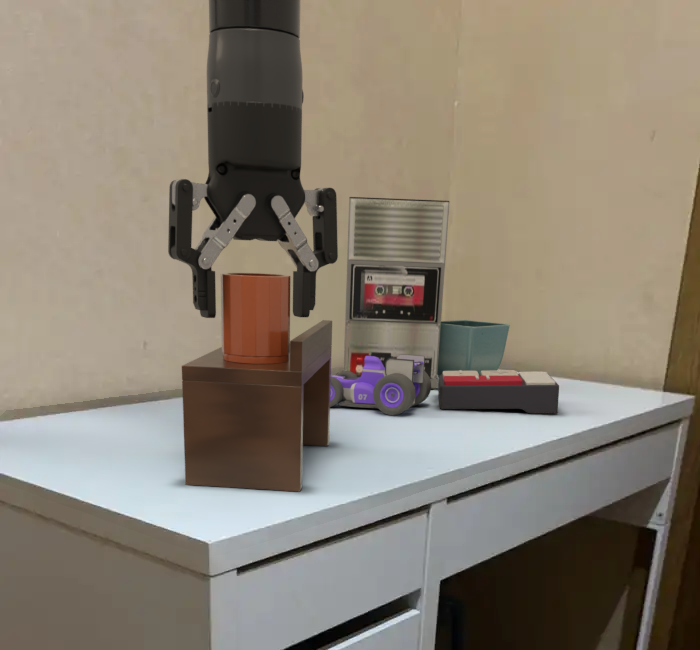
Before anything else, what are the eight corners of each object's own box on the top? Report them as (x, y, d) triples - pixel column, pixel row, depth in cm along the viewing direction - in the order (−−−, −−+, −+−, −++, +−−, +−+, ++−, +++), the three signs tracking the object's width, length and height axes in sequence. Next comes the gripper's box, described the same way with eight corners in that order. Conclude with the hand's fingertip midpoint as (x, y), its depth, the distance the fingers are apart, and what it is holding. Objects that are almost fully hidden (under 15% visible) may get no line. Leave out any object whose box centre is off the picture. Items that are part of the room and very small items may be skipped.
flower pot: (422, 383, 141) (426, 320, 137) (461, 379, 146) (466, 319, 143) (466, 391, 135) (471, 326, 131) (505, 386, 140) (511, 324, 137)
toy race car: (324, 395, 127) (325, 345, 124) (430, 405, 122) (433, 354, 120) (296, 405, 119) (296, 352, 116) (409, 417, 114) (412, 362, 112)
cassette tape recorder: (342, 386, 135) (348, 196, 125) (342, 380, 141) (348, 198, 131) (437, 390, 135) (451, 200, 126) (433, 383, 141) (446, 202, 131)
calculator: (438, 368, 129) (549, 367, 128) (438, 400, 130) (547, 399, 129) (440, 380, 119) (560, 379, 118) (439, 414, 120) (558, 413, 119)
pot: (215, 362, 79) (213, 274, 77) (230, 354, 85) (229, 272, 82) (282, 365, 79) (283, 277, 76) (293, 357, 84) (294, 274, 82)
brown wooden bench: (185, 484, 81) (180, 335, 76) (235, 438, 99) (234, 315, 94) (300, 491, 80) (302, 341, 75) (329, 443, 98) (332, 320, 93)
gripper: (317, 115, 80) (313, 313, 87) (154, 99, 74) (162, 313, 81) (356, 107, 74) (348, 321, 80) (181, 89, 68) (187, 321, 74)
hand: (255, 317), depth 80 cm, fingers open, 8 cm apart
